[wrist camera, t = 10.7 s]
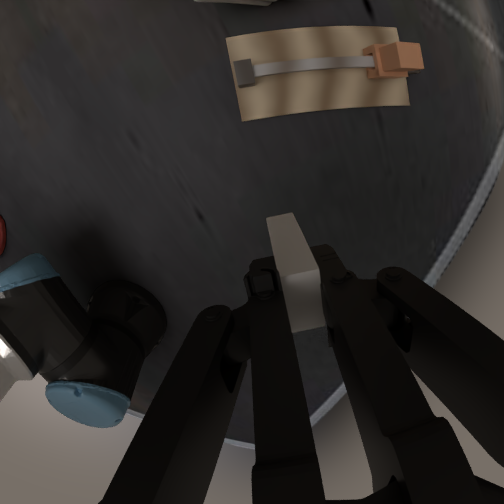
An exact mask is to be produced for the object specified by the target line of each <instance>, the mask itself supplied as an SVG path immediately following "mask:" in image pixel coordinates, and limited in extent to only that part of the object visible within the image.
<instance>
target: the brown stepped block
mask: <svg viewBox="0 0 504 504" xmlns="http://www.w3.org/2000/svg"><path fill="white" fill-rule="evenodd" d="M362 50H363V55H364V56H373V59H374V64H375V68H366V72H367V77H368V79H382V78H393V79H394V78H402V77H408V71H413V70H420V69H424V65H423V59H422V54H421V49H420V44H419V43H408V42H394V43H391V44H372V45H370V46H368V47H366V48H364V49H362Z"/></svg>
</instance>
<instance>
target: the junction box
mask: <svg viewBox="0 0 504 504" xmlns="http://www.w3.org/2000/svg"><path fill="white" fill-rule="evenodd" d="M194 1H196V2H221V3H239V4H251V5H261V6H268V5H270V4H271V2H275V1H277V0H194Z"/></svg>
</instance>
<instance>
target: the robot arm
mask: <svg viewBox="0 0 504 504" xmlns="http://www.w3.org/2000/svg"><path fill="white" fill-rule="evenodd" d="M266 221H267V225H268V230H269V235H270V240H271V245H272V249H273V254H274V256H270V257H265V258H261V259H256V260H253V261H252V263H251V264H250V266H249V268H250V271H249V272H248V273H247V274H246V275H245V276H244V283H245V287H246V291H247V294H248V302H247V303H246V304H244V305H243V306H241V307H239V308H237V309H235V310H232V311H231V310H230V308H229V307H227V306H225V305H214V306H210V307H208V308H206V309H204V310H203V311H201V312H200V313H199V315H198V316H197V318H196V320H195V321H194V323H193V325H192V327H191V329H190V331H189V333H188V334H187V336H186V338H185V340H184V342H183V344H182V346H181V348H180V349H179V351H178V353H177V355H176V357H175V359H174V361H173V363H172V365H171V366H170V368H169V370H168V372H167V374H166V376H165V378H164V380H163V382H162V384H161V385H160V387H159V389H158V391H157V393H156V395H155V397H154V399H153V401H152V403H151V405H150V407H149V408H148V410H147V412H146V414H145V416H144V418H143V420H142V422H141V424H140V426H139V428H138V430H137V432H136V434H135V436H134V438H133V440H132V442H131V443H130V446H129V447H128V449H127V451H126V453H125V455H124V457H123V459H122V461H121V463H120V465H119V467H118V469H117V471H116V473H115V475H114V477H113V479H112V481H111V483H110V485H109V487H108V489H107V491H106V493H105V495H104V497H103V499H102V500H101V501H100V502H99V503H98V504H203V502H204V500H205V497H206V494H207V490H208V488H209V485H210V482H211V479H212V476H213V473H214V470H215V466H216V463H217V460H218V457H219V454H220V451H221V448H222V445H223V442H224V438H225V435H226V432H227V429H228V426H229V422H230V419H231V416H232V413H233V410H234V406H235V403H236V400H237V396H238V393H239V390H240V387H241V383H242V380H243V377H244V373H245V370H246V367H247V360H248V359H250V358H251V369H252V391H253V412H254V433H255V453H256V462H255V465H254V466H253V468H252V503H253V504H504V488H503V487H500V486H498V485H496V484H493V483H491V482H489V481H486V480H484V479H482V478H480V477H478V476H475V475H474V474H473V472H472V470H471V467H470V465H469V463H468V460H467V458H466V456H465V454H464V452H463V449H462V447H461V446H460V443H459V441H458V439H457V437H456V435H455V433H454V431H453V429H452V427H451V425H450V424H449V422H448V420H446V419H445V418H444V417H436V416H435V415H434V414H433V412H432V410H431V408H430V406H429V404H428V402H427V400H426V398H425V396H424V394H423V392H422V390H421V388H420V386H419V385H418V383H417V381H416V379H415V377H414V375H413V373H412V372H411V370H412V371H413V372H414V373H415V374H416V375H417V376H418V377H419V378H420V379H421V380H422V381H423V382H424V383H425V385H427V387H428V388H429V389H430V390H431V391H432V392H433V393H434V394H435V395H436V396H437V397H438V398H439V399H440V401H441V402H442V403H443V404H444V405H445V406H446V407H447V408H448V409H449V410H450V411H451V412H452V414H453V415H454V416H455V417H456V418H457V419H458V420H459V421H460V422H461V423H462V425H463V426H464V427H465V428H466V429H467V430H468V431H469V432H470V433H471V435H472V436H473V437H474V438H475V439H476V440H477V441H478V442H479V444H480V445H481V446H482V447H483V448H484V449H485V450H486V452H487V453H488V454H489V455H490V456H491V457H492V458H493V459H494V460H495V461H496V462H497V463H498V464H500V465H501V466H502V467H504V340H502V339H501V338H500V337H499V336H497V335H496V334H495V333H493V332H492V331H491V330H490V329H488V328H487V327H485V326H484V325H483V324H482V323H480V322H479V321H478V320H476V319H475V318H474V317H472V316H471V315H469V314H468V313H467V312H465V311H464V310H463V309H461V308H460V307H459V306H457V305H456V304H454V303H453V302H452V301H450V300H449V299H448V298H446V297H445V296H443V295H442V294H440V293H439V292H437V291H436V290H435V289H433V288H432V287H430V286H429V285H428V284H426V283H425V282H423V281H422V280H420V279H419V278H417V277H416V276H414V275H413V274H411V273H410V272H408V271H407V270H405V269H403V268H400V267H387V268H384V269H382V270H380V271H379V272H378V273H377V279H371V280H363V279H358V278H357V276H356V275H355V274H354V273H353V272H352V271H349V270H346V269H345V267H344V265H343V264H342V262H341V260H340V259H339V257H338V255H337V254H336V252H335V251H334V249H333V248H332V247H330V246H329V245H327V244H324V245H319V246H314V247H309V246H308V244H307V242H306V240H305V237H304V235H303V233H302V231H301V229H300V227H299V225H298V223H297V221H296V219H295V217H294V215H293V213H287V214H283V215H278V216H273V217H268V218H266ZM407 316H408V317H407ZM325 320H326V322H327V330H328V341H329V347H333V350H334V353H335V356H336V359H337V362H338V365H339V368H340V371H341V374H342V378H343V381H344V384H345V387H346V390H347V393H348V396H349V399H350V403H351V406H352V409H353V412H354V416H355V419H356V422H357V425H358V429H359V432H360V435H361V439H362V442H363V446H364V449H365V452H366V456H367V459H368V463H369V467H370V470H371V474H372V483H373V492H374V493H373V494H371V495H369V496H367V497H366V498H363V499H358V500H325V495H324V489H323V484H322V478H321V473H320V468H319V463H318V458H317V454H316V449H315V444H314V439H313V434H312V428H311V423H310V418H309V413H308V408H307V403H306V398H305V393H304V388H303V383H302V378H301V373H300V369H299V364H298V359H297V354H296V349H295V345H294V340H293V335H292V333H295V332H300V331H304V330H309V329H313V328H318V327H322V326H325ZM165 329H166V316H165V313H164V311H163V308H162V307H161V305H160V303H159V302H158V301H157V300H156V298H155V297H154V296H153V295H152V294H150V293H149V292H148V291H147V290H145V289H143V288H142V287H140V286H138V285H136V284H133V283H130V282H127V281H118V280H117V281H109V282H106V283H104V284H102V285H100V286H99V287H98V288H97V289H96V290H95V292H94V293H93V295H92V296H91V298H90V300H89V302H88V307H87V313H86V312H85V310H84V309H83V308H82V306H81V305H80V304H79V302H78V301H77V300H76V298H75V297H74V296H73V294H72V293H71V292H70V290H69V289H68V287H67V286H66V285H65V283H64V282H63V280H62V279H61V277H60V274H59V273H57V272H56V271H55V270H54V268H53V267H52V266H51V264H50V263H49V262H48V260H47V259H46V258H45V257H44V256H43V255H41V254H39V253H33V254H30V255H28V256H27V257H25V258H23V259H21V260H20V261H18V262H16V263H15V264H13V265H12V266H10V267H9V268H7V269H6V270H4V271H3V272H1V273H0V402H1V400H2V399H3V398H4V396H5V395H6V393H7V392H8V391H9V390H10V388H11V387H12V385H13V384H14V383H15V382H16V381H18V380H32V379H33V378H34V377H35V375H36V374H37V373H39V374H40V375H42V377H43V378H44V379H45V380H46V381H47V382H48V385H47V386H46V392H45V395H46V397H47V399H48V401H49V403H50V404H51V405H52V406H53V407H54V408H55V409H56V410H57V411H59V412H60V413H61V414H63V415H65V416H66V417H68V418H70V419H72V420H74V421H76V422H79V423H81V424H85V425H88V426H92V427H98V428H108V427H113V426H116V425H118V424H119V423H120V422H121V421H122V420H123V418H124V415H125V413H126V411H127V408H128V407H129V406H130V401H131V398H132V395H133V392H134V389H135V385H136V382H137V379H138V376H139V373H140V370H141V367H142V364H143V362H144V359H145V358H146V357H147V356H148V355H149V354H150V352H151V351H152V350H153V349H154V348H155V347H157V346H158V344H159V343H160V342H161V340H162V338H163V335H164V332H165Z"/></svg>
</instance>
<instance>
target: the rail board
mask: <svg viewBox="0 0 504 504" xmlns="http://www.w3.org/2000/svg"><path fill="white" fill-rule="evenodd" d="M394 42H399V37H398V33H397V28H392V27H373V26H325V27H306V28H294V29H283V30H274V31H266V32H259V33H252V34H246V35H240V36H234V37H229V38H226V43H227V48H228V52H229V57H230V62H231V67H232V72H233V77H234V82H235V87H236V92H237V97H238V102H239V108H240V113H241V118H242V122H243V121H248V120H254V119H260V118H266V117H273V116H279V115H287V114H294V113H302V112H310V111H320V110H330V109H341V108H354V107H371V106H401V105H410V103H409V95H408V88H407V81H406V77H402V78H394V79H393V78H382V79H368V77H367V72H366V68H375V64H374V59H373V56H364V55H363V50H362V49H364V48H366V47H368V46H370V45H372V44H391V43H394ZM417 73H420V70H413V71H408V75H409V74H417Z"/></svg>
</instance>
